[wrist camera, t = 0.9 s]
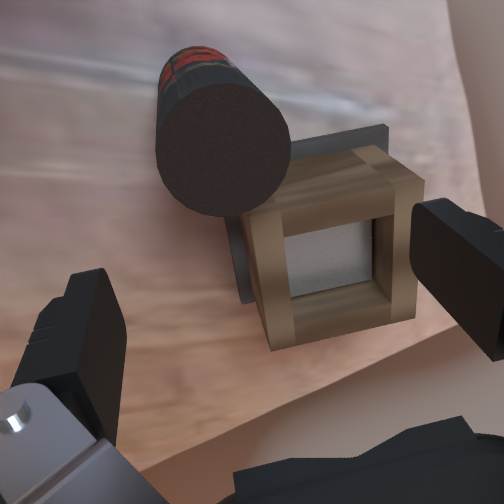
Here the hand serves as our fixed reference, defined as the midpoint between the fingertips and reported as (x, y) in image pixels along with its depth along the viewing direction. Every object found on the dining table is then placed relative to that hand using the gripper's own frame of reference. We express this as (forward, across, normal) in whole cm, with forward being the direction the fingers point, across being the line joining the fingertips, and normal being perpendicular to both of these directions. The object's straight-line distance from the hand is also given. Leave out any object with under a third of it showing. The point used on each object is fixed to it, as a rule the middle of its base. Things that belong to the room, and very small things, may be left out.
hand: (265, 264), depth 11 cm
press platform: (+19, -7, +12) cm, 24 cm away
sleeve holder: (+24, -7, +12) cm, 28 cm away
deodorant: (+24, 0, 0) cm, 24 cm away
